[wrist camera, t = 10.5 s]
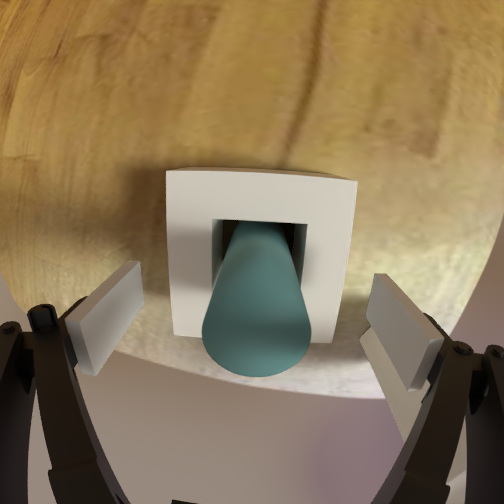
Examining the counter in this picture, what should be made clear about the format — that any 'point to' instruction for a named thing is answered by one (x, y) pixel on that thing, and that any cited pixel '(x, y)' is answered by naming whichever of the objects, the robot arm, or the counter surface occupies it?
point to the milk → (412, 410)
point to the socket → (257, 209)
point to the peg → (257, 305)
